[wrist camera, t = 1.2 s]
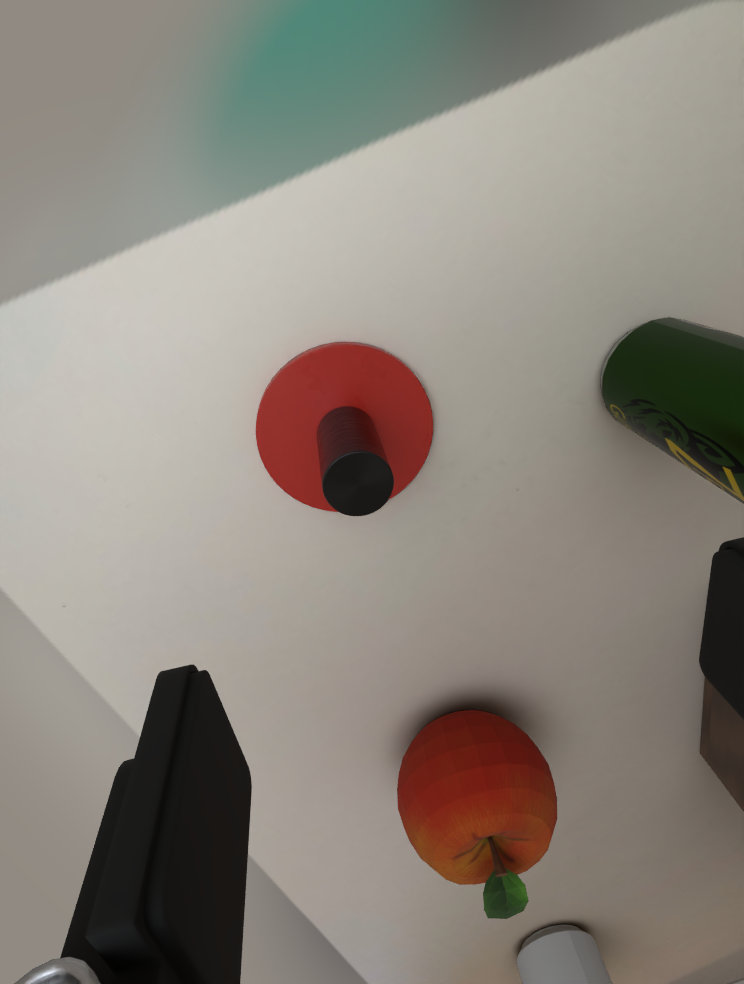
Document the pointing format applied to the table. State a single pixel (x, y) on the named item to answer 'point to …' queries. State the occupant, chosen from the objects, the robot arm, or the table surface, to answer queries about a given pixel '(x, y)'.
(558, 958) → the can
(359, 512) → the pot lid
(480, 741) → the fruit
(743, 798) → the chest
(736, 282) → the table surface
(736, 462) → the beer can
